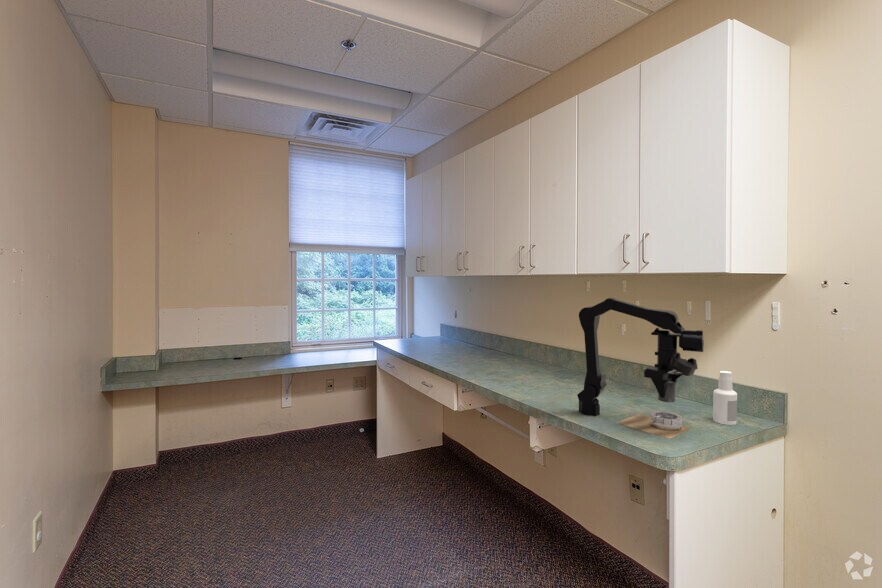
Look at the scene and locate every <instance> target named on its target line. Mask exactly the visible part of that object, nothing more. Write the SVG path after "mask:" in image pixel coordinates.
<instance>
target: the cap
mask: <svg viewBox="0 0 882 588" xmlns="http://www.w3.org/2000/svg"><path fill="white" fill-rule="evenodd" d="M657 399H658V401H660V402H665V403H675V401H676V385H675V382H673V381H668V382H667V385H666V391H665V397H664V398H661V397H660V395H659V393H658V392H657Z"/></svg>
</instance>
